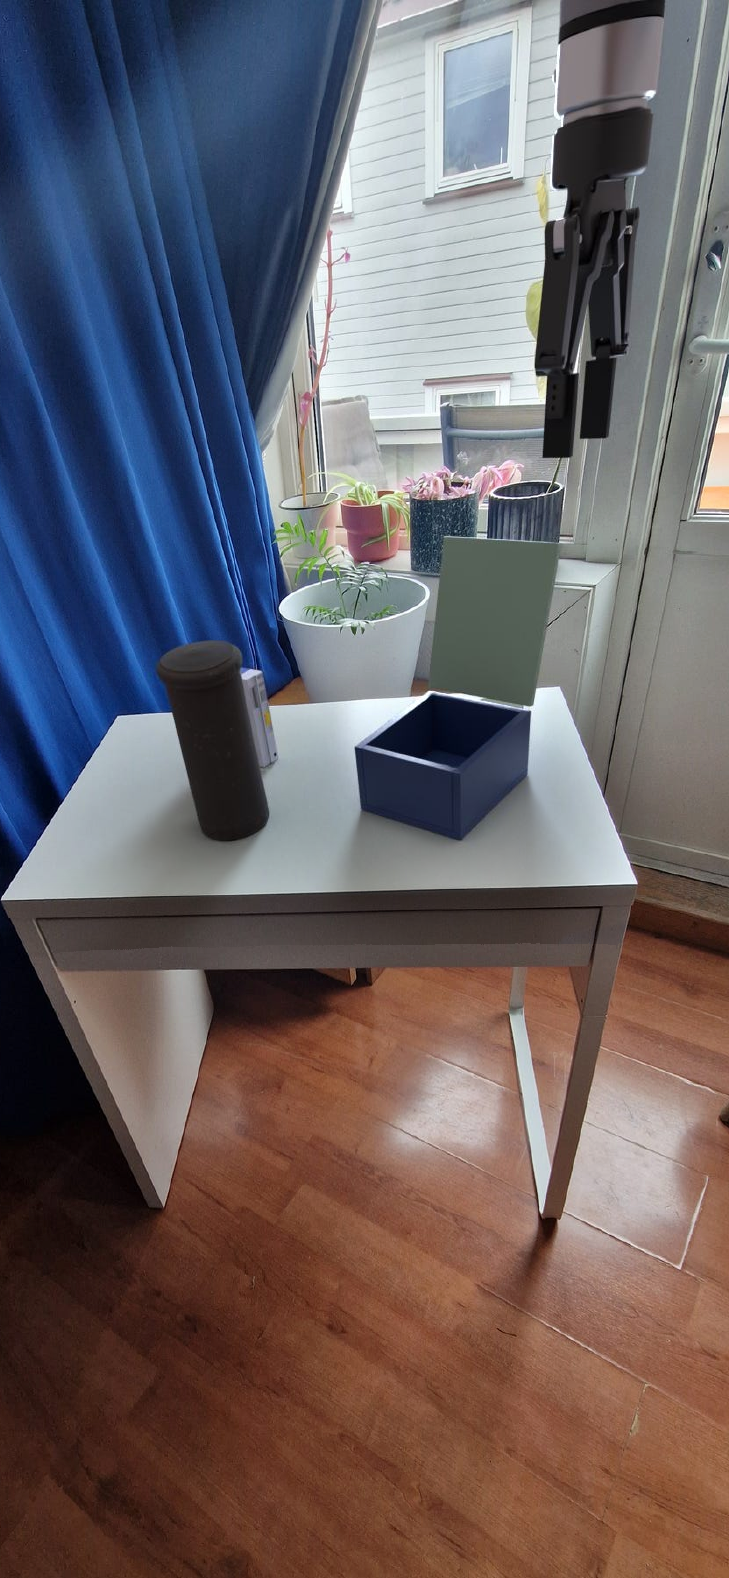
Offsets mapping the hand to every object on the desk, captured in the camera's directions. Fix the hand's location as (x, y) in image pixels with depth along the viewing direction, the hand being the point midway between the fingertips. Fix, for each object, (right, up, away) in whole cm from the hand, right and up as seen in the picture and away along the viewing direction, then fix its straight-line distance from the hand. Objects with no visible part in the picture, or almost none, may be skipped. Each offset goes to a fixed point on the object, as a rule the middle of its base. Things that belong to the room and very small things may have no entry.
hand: (576, 446), depth 74 cm
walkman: (-34, -26, +24) cm, 49 cm away
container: (-35, -36, +13) cm, 51 cm away
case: (-11, -32, +11) cm, 36 cm away
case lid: (-7, -15, +6) cm, 18 cm away
